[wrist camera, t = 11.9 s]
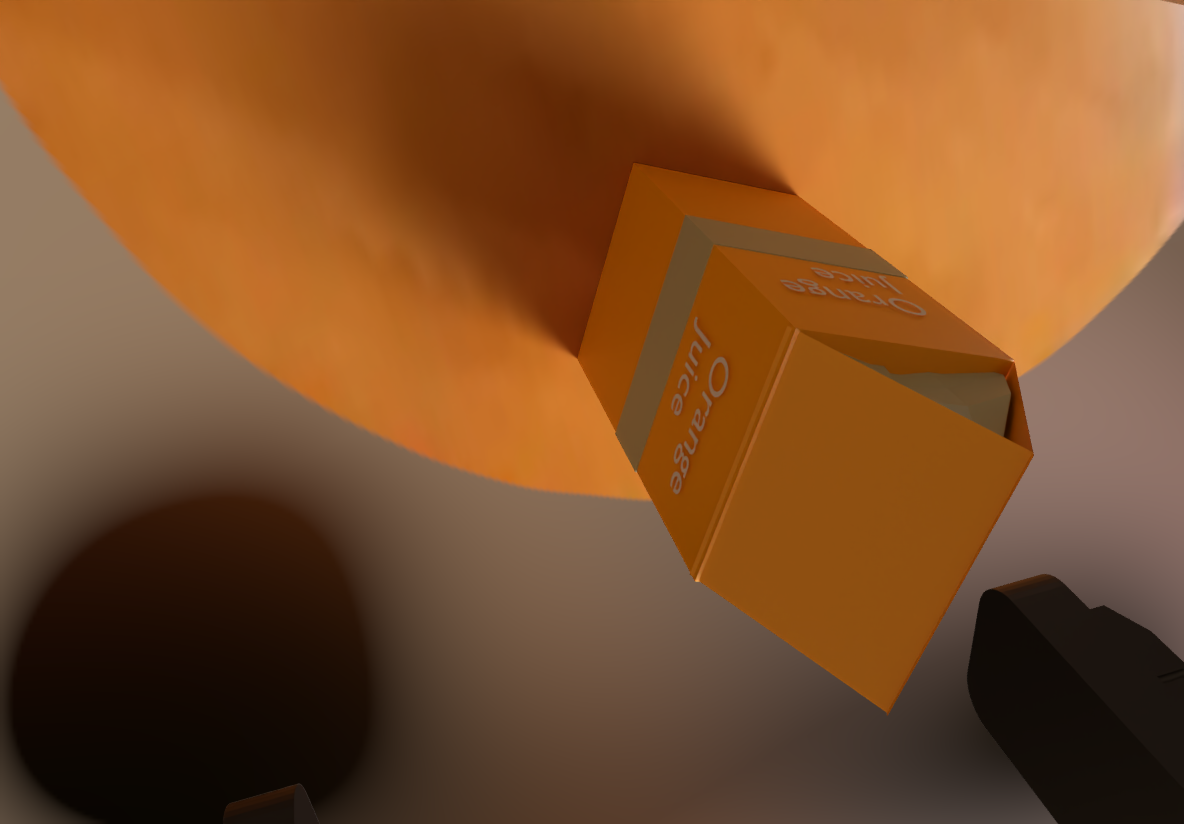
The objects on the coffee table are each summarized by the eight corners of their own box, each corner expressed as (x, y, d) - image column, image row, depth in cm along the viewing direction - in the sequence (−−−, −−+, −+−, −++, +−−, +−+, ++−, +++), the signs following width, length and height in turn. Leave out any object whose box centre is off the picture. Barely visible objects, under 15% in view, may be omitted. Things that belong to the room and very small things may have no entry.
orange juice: (573, 359, 41) (762, 722, 25) (630, 159, 37) (901, 435, 21) (733, 378, 44) (998, 717, 28) (803, 194, 40) (1160, 462, 24)
